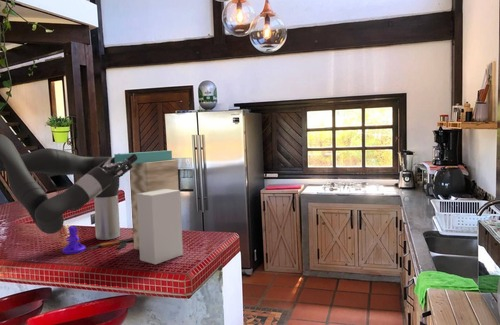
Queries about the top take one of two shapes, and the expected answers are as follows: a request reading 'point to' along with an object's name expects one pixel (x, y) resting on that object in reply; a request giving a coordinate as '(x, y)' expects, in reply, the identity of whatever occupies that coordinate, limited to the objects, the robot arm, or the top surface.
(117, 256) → the top surface
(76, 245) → the figurine
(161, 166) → the stand
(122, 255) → the top surface
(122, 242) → the toy rifle
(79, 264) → the top surface
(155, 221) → the white tall block
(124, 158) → the teal long bar
